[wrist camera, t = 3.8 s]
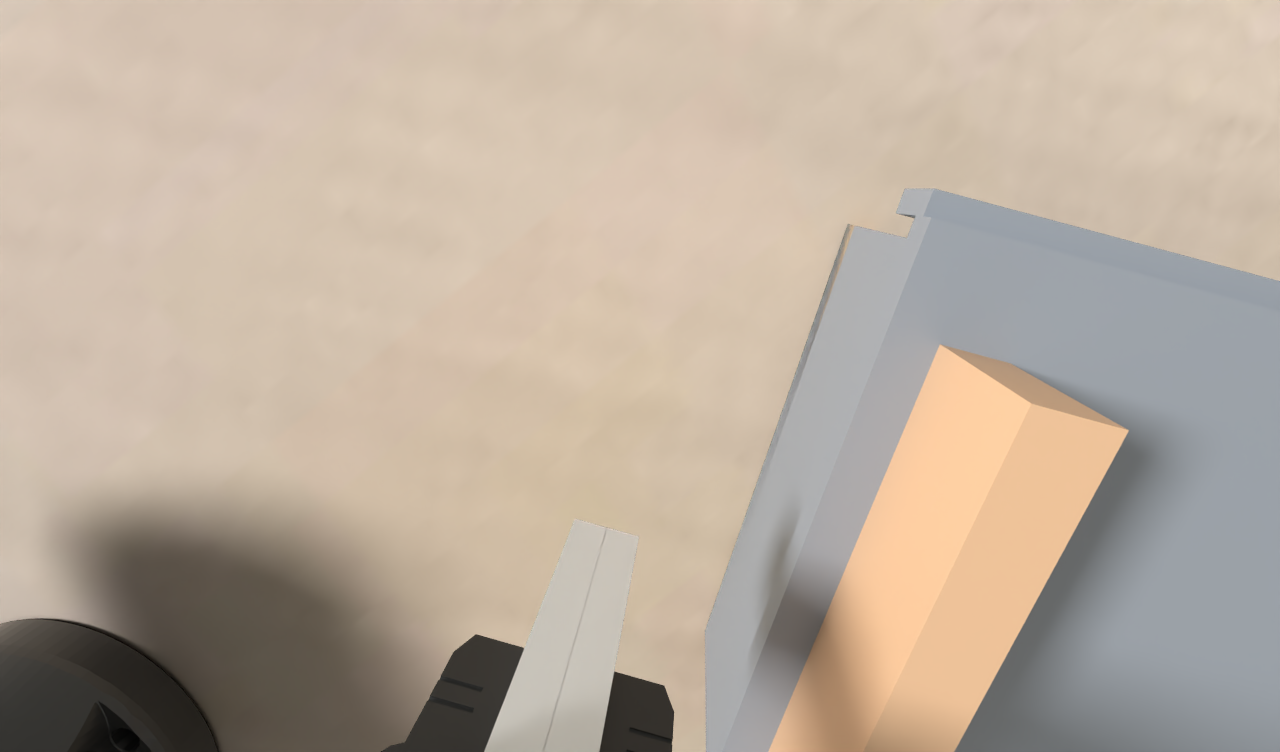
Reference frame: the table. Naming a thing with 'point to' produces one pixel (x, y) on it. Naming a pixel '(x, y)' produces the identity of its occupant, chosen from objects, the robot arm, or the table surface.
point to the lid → (1036, 509)
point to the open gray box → (796, 455)
